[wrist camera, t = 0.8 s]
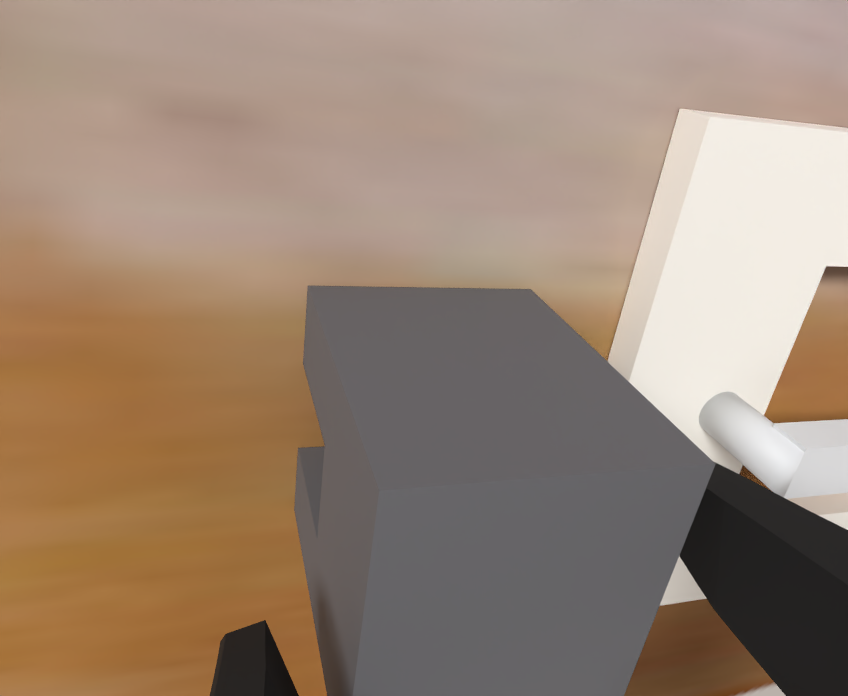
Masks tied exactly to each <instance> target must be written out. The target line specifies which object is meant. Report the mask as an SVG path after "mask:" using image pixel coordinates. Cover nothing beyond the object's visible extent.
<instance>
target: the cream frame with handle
mask: <svg viewBox="0 0 848 696" xmlns="http://www.w3.org/2000/svg"><path fill="white" fill-rule="evenodd" d="M826 266H838V267H848V128H844V127H835V126H827V125H818V124H810V123H801V122H792V121H784V120H775V119H766V118H758V117H749V116H740V115H732V114H723V113H714V112H706V111H697V110H688V109H679V113H678V116H677V120H676V123H675V127H674V130H673V134H672V137H671V141H670V144H669V148H668V151H667V155H666V158H665V162H664V165H663V169H662V172H661V176H660V179H659V183H658V186H657V190H656V193H655V197H654V200H653V204H652V207H651V211H650V214H649V218H648V221H647V225H646V228H645V232H644V235H643V239H642V242H641V246H640V249H639V253H638V256H637V260H636V263H635V267H634V270H633V274H632V277H631V281H630V284H629V288H628V291H627V295H626V298H625V302H624V305H623V309H622V312H621V316H620V319H619V323H618V326H617V330H616V333H615V337H614V340H613V344H612V347H611V351H610V354H609V358H608V361H607V362H608V363H609V364H610V365H611V366H612V367H614V368H615V369H616V370H617V371H618V372H619V373H620V374H621V375H622V376H623V377H624V378H625V379H626V380H627V381H628V382H629V383H631V384H632V385H633V386H634V387H635V388H636V389H637V390H638V391H639V392H640V393H641V394H642V395H643V396H644V397H645V398H646V399H647V400H649V401H650V402H651V403H652V404H653V405H654V406H655V407H656V408H657V409H658V410H659V411H660V412H661V413H662V414H663V415H664V416H665V417H667V418H668V419H669V420H670V421H671V422H672V423H673V424H674V425H675V426H676V427H677V428H678V429H679V430H680V431H681V432H682V433H684V434H685V435H686V436H687V437H688V438H689V439H690V440H691V441H692V442H693V443H694V444H695V445H696V446H697V447H698V448H699V449H700V450H702V451H703V452H704V453H705V454H706V455H707V456H708V457H709V458H710V459H711V460H712V461H713V462H716V463H718V464H720V465H722V466H724V467H726V468H728V469H730V470H732V471H734V472H736V473H738V474H739V473H740V471H741V468H742V466H743V465H744V466H745V467H746V468H747V469H748V470H749V471H750V472H751V473H753V474H754V475H755V476H756V477H757V478H758V479H759V480H760V481H761V482H763V483H764V484H765V485H766V486H767V487H768V488H769V489H770V490H771V491H773V492H774V493H776V494H778V495H780V496H782V497H784V498H786V499H788V500H789V501H791V502H793V503H795V504H797V505H799V506H801V507H803V508H805V509H807V510H809V511H811V512H813V513H815V514H817V515H819V516H821V517H823V518H825V519H827V520H829V521H831V522H833V523H835V524H837V525H839V526H841V527H843V528H845V529H847V530H848V419H842V420H825V421H808V422H790V423H773V422H771V421H770V420H769V419H767V418H766V417H765V416H764V413H765V411H766V409H767V406H768V404H769V402H770V399H771V397H772V394H773V392H774V390H775V387H776V385H777V382H778V380H779V378H780V375H781V373H782V370H783V368H784V366H785V363H786V361H787V359H788V356H789V354H790V351H791V349H792V347H793V344H794V342H795V339H796V337H797V335H798V332H799V330H800V327H801V325H802V323H803V320H804V318H805V315H806V313H807V311H808V308H809V306H810V304H811V301H812V299H813V296H814V294H815V292H816V289H817V287H818V284H819V282H820V280H821V277H822V275H823V272H824V270H825V268H826ZM700 599H707V598H706V597H705V595H704V594H703V592H702V591H701V589H700V588H699V586H698V585H697V583H696V582H695V580H694V578H693V577H692V575H691V574H690V572H689V571H688V569H687V567H686V566H685V564H684V563H683V561H682V560H681V558H680V555H679V558H678V560H677V563H676V565H675V568H674V570H673V573H672V575H671V578H670V580H669V583H668V585H667V588H666V591H665V593H664V596H663V598H662V601H661V603H660V606H661V605H667V604H674V603H681V602H687V601H694V600H700Z"/></svg>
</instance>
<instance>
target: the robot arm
mask: <svg viewBox="0 0 848 696" xmlns="http://www.w3.org/2000/svg"><path fill="white" fill-rule="evenodd" d="M714 463H715V467H714V469H713V472H712V474H711V477H710V479H709V482H708V485H707V487H706V490H705V492H704V495H703V497H702V500H701V502H700V505H699V507H698V510H697V512H696V515H695V517H694V520H693V522H692V525H691V527H690V530H689V532H688V535H687V538H686V540H685V543H684V545H683V548H682V550H681V553H680V558H681V560H682V561H683V563H684V564H685V566H686V567H687V569H688V571H689V572H690V574H691V575H692V577H693V578H694V580H695V582H696V583H697V585H698V586H699V588H700V589H701V591H702V592H703V594H704V595H705V597H706V598H707V600H708V601H709V603H710V604H711V605H712V607H713V608H714V610H715V611H716V612H717V614H718V615H719V616H720V617H721V619H722V620H723V621H724V622H725V623H726V625H727V626H728V627H729V628H730V630H731V631H732V632H733V633H734V634H735V636H736V637H737V638H738V639H739V640H740V642H741V643H742V644H743V645H744V646H745V648H746V649H747V650H748V651H749V652H750V654H751V655H752V656H753V657H754V658H755V660H756V661H757V662H758V663H759V664H760V665H761V667H762V668H763V669H764V670H765V671H766V673H767V674H768V675H769V676H770V677H771V679H772V680H773V681H774V682H775V683H776V684H777V686H778V687H779V688H780V689H781V690H782V692H783V693H784V694H785V695H786V696H848V530H847V529H845V528H843V527H841V526H839V525H837V524H835V523H833V522H831V521H829V520H827V519H825V518H823V517H821V516H819V515H817V514H815V513H813V512H811V511H809V510H807V509H805V508H803V507H801V506H799V505H797V504H795V503H793V502H791V501H789V500H788V499H786V498H784V497H782V496H780V495H778V494H776V493H774V492H772V491H770V490H768V489H766V488H764V487H763V486H761V485H759V484H757V483H755V482H753V481H751V480H749V479H747V478H745V477H743V476H741V475H740V474H738V473H736V472H734V471H732V470H730V469H728V468H726V467H724V466H722V465H720V464H718V463H716V462H714ZM210 696H299V695H298V693H297V691H296V689H295V686H294V684H293V682H292V679H291V677H290V675H289V673H288V670H287V668H286V666H285V664H284V661H283V659H282V657H281V655H280V652H279V650H278V648H277V646H276V643H275V641H274V639H273V637H272V634H271V632H270V630H269V627H268V625H267V623H266V621H265V620H264V621H261V622H259V623H256V624H253V625H250V626H247V627H244V628H241V629H239V630H236V631H233V632H230V633H227V634H225V636H224V637H223V639H222V640H221V642H220V648H219V654H218V659H217V664H216V669H215V674H214V679H213V684H212V688H211V692H210Z"/></svg>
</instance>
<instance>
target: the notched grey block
mask: <svg viewBox="0 0 848 696" xmlns="http://www.w3.org/2000/svg"><path fill="white" fill-rule="evenodd" d="M303 365H304V369H305V372H306V376H307V380H308V384H309V387H310V391H311V395H312V399H313V403H314V406H315V410H316V414H317V418H318V421H319V425H320V429H321V433H322V436H323V440H324V444H325V447H308V448H298V459H297V475H296V492H295V509H294V510H295V516H296V521H297V527H298V533H299V538H300V544H301V550H302V555H303V561H304V566H305V572H306V578H307V583H308V589H309V595H310V600H311V606H312V612H313V617H314V623H315V629H316V634H317V640H318V646H319V651H320V657H321V663H322V668H323V674H324V680H325V685H326V691H327V696H624V694H625V691H626V689H627V686H628V684H629V681H630V679H631V676H632V674H633V671H634V669H635V666H636V664H637V661H638V659H639V656H640V654H641V651H642V649H643V646H644V644H645V641H646V638H647V636H648V633H649V631H650V628H651V626H652V623H653V621H654V618H655V616H656V613H657V611H658V608H659V606H660V603H661V601H662V598H663V596H664V593H665V591H666V588H667V585H668V583H669V580H670V578H671V575H672V573H673V570H674V568H675V565H676V563H677V560H678V558H679V555H680V553H681V550H682V548H683V545H684V543H685V540H686V538H687V535H688V532H689V530H690V527H691V525H692V522H693V520H694V517H695V515H696V512H697V510H698V507H699V505H700V502H701V500H702V497H703V495H704V492H705V490H706V487H707V485H708V482H709V479H710V477H711V474H712V472H713V469H714V467H715V463H714V462H713V461H712V460H711V459H710V458H709V457H708V456H707V455H706V454H705V453H704V452H703V451H702V450H700V449H699V448H698V447H697V446H696V445H695V444H694V443H693V442H692V441H691V440H690V439H689V438H688V437H687V436H686V435H685V434H684V433H682V432H681V431H680V430H679V429H678V428H677V427H676V426H675V425H674V424H673V423H672V422H671V421H670V420H669V419H668V418H667V417H665V416H664V415H663V414H662V413H661V412H660V411H659V410H658V409H657V408H656V407H655V406H654V405H653V404H652V403H651V402H650V401H649V400H647V399H646V398H645V397H644V396H643V395H642V394H641V393H640V392H639V391H638V390H637V389H636V388H635V387H634V386H633V385H632V384H631V383H629V382H628V381H627V380H626V379H625V378H624V377H623V376H622V375H621V374H620V373H619V372H618V371H617V370H616V369H615V368H614V367H612V366H611V365H610V364H609V363H608V362H607V361H606V360H605V359H604V358H603V357H602V356H601V355H600V354H599V353H598V352H597V351H596V350H594V349H593V348H592V347H591V346H590V345H589V344H588V343H587V342H586V341H585V340H584V339H583V338H582V337H581V336H580V335H579V334H578V333H576V332H575V331H574V330H573V329H572V328H571V327H570V326H569V325H568V324H567V323H566V322H565V321H564V320H563V319H562V318H561V317H559V316H558V315H557V314H556V313H555V312H554V311H553V310H552V309H551V308H550V307H549V306H548V305H547V304H546V303H545V302H544V301H543V300H541V299H540V298H539V297H538V296H537V295H536V294H535V293H534V292H533V291H532V290H531V289H479V288H416V287H353V286H308V291H307V308H306V325H305V341H304V358H303Z"/></svg>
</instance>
